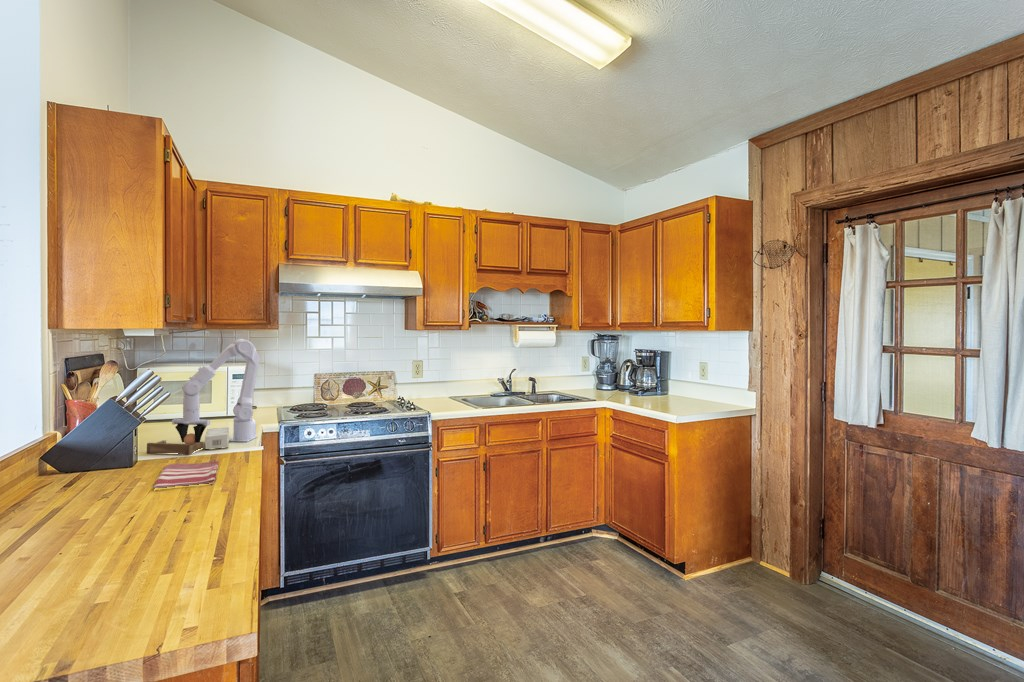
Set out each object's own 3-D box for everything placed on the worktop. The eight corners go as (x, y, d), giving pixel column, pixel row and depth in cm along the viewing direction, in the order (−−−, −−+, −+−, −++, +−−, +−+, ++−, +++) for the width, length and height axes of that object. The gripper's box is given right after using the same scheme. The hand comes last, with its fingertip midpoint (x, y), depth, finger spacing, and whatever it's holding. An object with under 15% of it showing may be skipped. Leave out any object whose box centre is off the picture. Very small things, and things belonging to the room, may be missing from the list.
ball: (188, 443, 210) (188, 431, 210) (200, 444, 210) (200, 432, 210) (180, 446, 205) (181, 434, 205) (193, 447, 205) (193, 435, 205)
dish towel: (219, 466, 183) (219, 459, 183) (214, 486, 162) (215, 478, 162) (163, 471, 175) (163, 464, 175) (151, 493, 154) (151, 484, 154)
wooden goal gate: (163, 447, 203) (163, 437, 203) (204, 449, 203) (204, 439, 203) (146, 453, 194) (146, 443, 193) (189, 455, 194) (189, 444, 193)
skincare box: (204, 436, 201) (206, 428, 213) (205, 451, 201) (206, 442, 214) (229, 434, 205) (228, 426, 218) (229, 448, 205) (228, 439, 218)
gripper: (167, 410, 203) (166, 443, 204) (202, 411, 203) (202, 445, 204) (178, 407, 210) (178, 439, 211) (213, 408, 210) (212, 440, 211)
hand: (191, 442), depth 208 cm, fingers closed on ball, 5 cm apart
